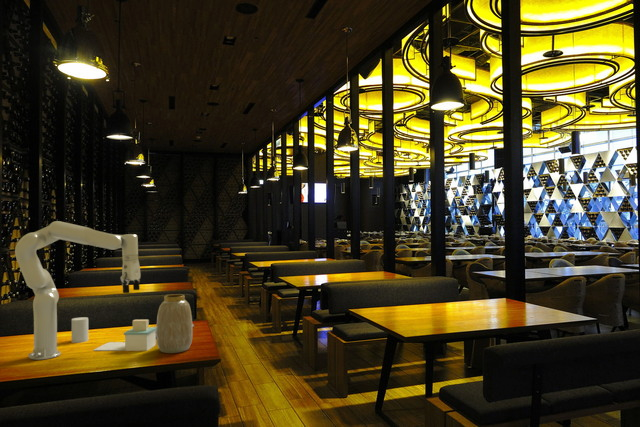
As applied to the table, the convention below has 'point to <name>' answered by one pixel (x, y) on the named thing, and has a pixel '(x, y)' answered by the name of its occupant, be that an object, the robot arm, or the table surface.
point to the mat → (112, 346)
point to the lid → (140, 328)
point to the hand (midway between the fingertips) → (131, 291)
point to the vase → (174, 324)
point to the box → (140, 342)
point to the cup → (79, 330)
